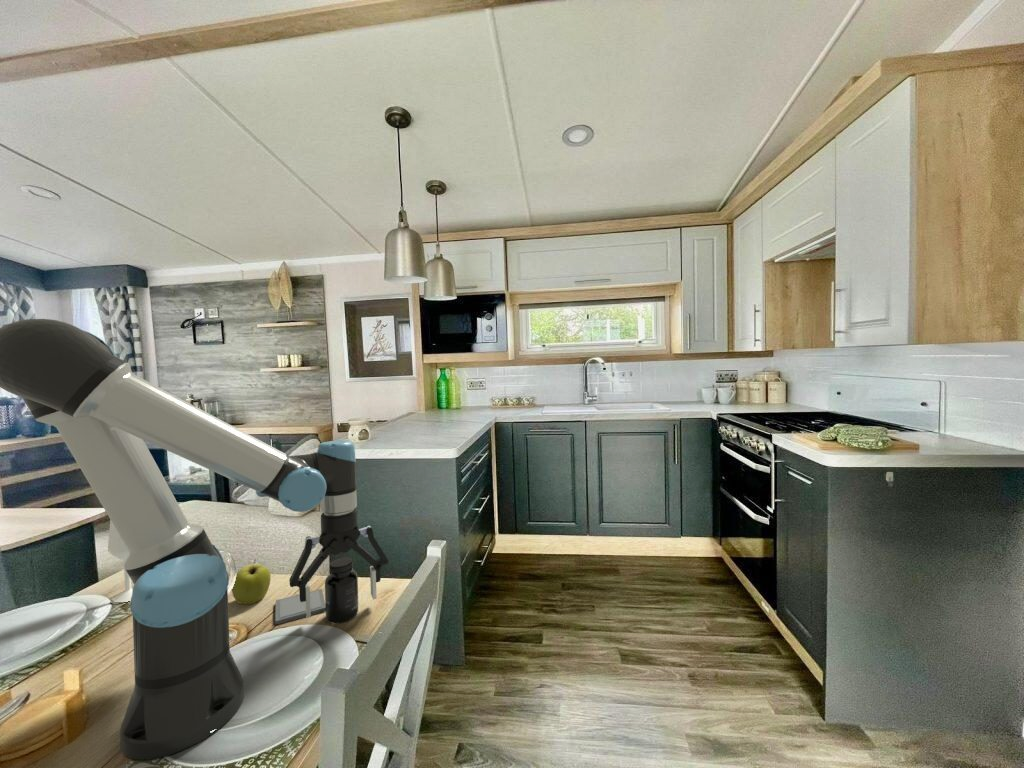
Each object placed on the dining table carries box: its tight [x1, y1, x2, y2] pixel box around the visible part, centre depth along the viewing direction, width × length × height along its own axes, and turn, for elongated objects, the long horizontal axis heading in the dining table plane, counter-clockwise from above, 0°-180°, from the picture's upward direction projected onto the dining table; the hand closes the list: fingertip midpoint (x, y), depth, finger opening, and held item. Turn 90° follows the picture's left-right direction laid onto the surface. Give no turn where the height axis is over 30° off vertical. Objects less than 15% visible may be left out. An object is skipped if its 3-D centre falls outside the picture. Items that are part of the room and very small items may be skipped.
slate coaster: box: [274, 588, 326, 626], centre depth 96 cm, size 10×10×1 cm
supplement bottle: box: [324, 557, 359, 624], centre depth 92 cm, size 7×7×12 cm
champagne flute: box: [107, 518, 133, 603], centre depth 102 cm, size 7×7×24 cm
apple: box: [231, 558, 271, 606], centre depth 99 cm, size 8×8×10 cm
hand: (342, 605), depth 92 cm, fingers open, 13 cm apart
